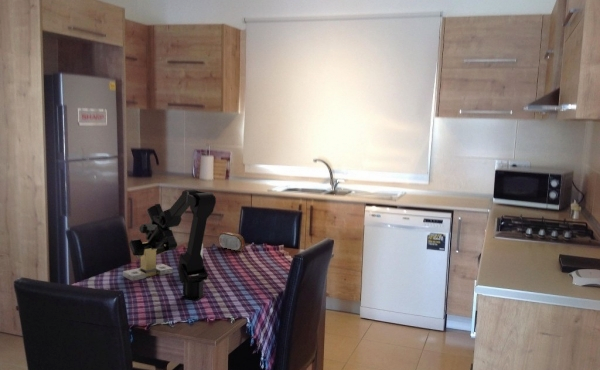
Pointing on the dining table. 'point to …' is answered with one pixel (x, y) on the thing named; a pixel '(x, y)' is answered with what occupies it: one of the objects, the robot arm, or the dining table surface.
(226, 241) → the bread slice
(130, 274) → the bracket
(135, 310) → the dining table surface
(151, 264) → the gold block
